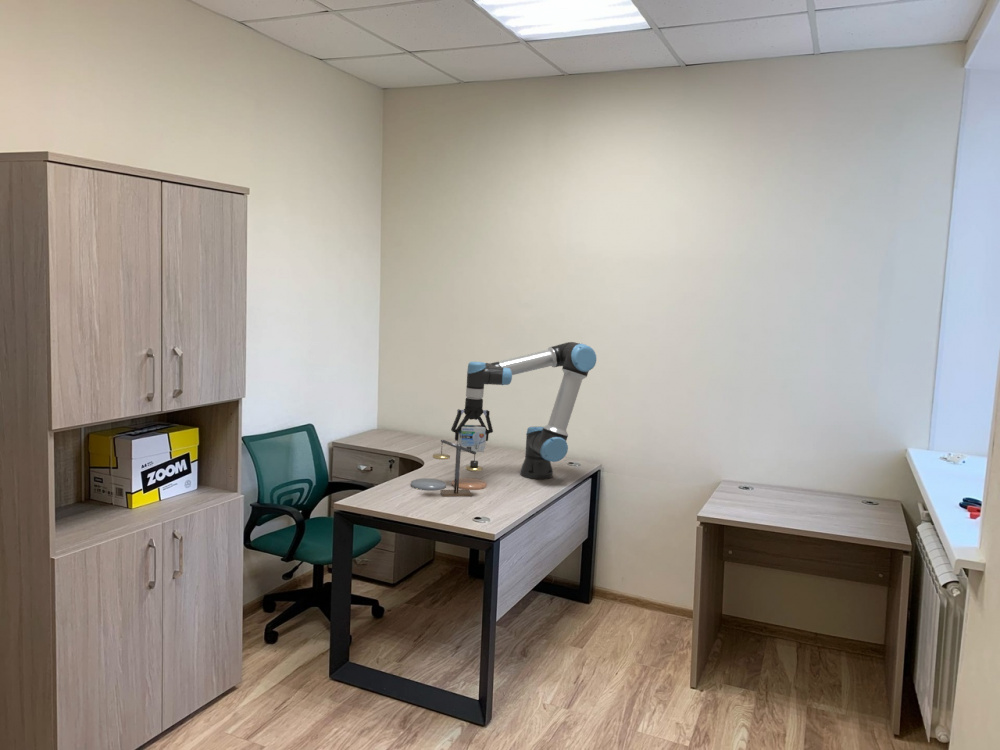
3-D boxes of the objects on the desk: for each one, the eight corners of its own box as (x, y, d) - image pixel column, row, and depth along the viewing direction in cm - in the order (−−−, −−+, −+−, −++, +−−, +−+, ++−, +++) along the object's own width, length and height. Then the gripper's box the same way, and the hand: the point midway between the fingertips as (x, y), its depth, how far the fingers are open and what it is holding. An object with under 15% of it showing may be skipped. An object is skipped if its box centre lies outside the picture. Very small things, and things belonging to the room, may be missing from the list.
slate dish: (442, 481, 338) (442, 478, 337) (449, 490, 323) (449, 487, 323) (408, 481, 333) (408, 478, 333) (413, 490, 319) (414, 487, 319)
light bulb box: (460, 452, 327) (462, 427, 325) (457, 448, 333) (458, 424, 332) (484, 452, 330) (486, 427, 328) (480, 449, 336) (482, 424, 335)
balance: (478, 491, 324) (481, 437, 321) (482, 496, 317) (485, 441, 314) (429, 492, 318) (432, 437, 315) (432, 497, 311) (435, 441, 309)
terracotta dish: (481, 480, 342) (482, 477, 342) (490, 489, 328) (490, 486, 328) (448, 480, 338) (449, 478, 338) (456, 490, 324) (456, 487, 324)
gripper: (498, 397, 336) (494, 446, 338) (446, 395, 329) (442, 446, 332) (502, 400, 328) (499, 450, 331) (449, 398, 322) (446, 449, 324)
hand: (470, 448), depth 331 cm, fingers closed on light bulb box, 11 cm apart
